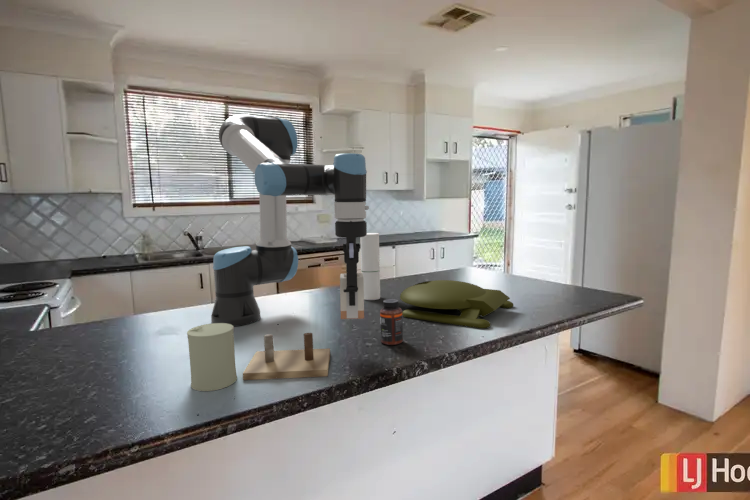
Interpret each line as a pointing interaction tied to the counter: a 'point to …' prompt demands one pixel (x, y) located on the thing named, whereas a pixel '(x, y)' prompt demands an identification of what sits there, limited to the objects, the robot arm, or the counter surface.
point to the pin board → (288, 361)
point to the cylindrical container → (370, 265)
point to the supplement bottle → (391, 323)
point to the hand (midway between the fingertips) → (352, 313)
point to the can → (212, 356)
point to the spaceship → (454, 302)
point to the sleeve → (360, 296)
